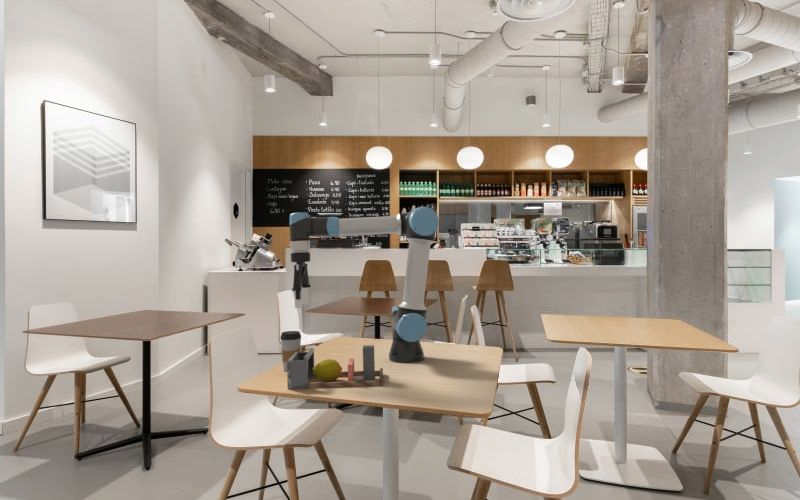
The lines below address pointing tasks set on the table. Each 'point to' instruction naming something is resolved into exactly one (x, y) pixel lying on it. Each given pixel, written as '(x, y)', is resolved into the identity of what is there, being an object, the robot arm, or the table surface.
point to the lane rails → (350, 383)
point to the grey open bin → (300, 369)
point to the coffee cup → (289, 345)
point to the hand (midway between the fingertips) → (302, 305)
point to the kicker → (364, 365)
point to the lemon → (327, 370)
